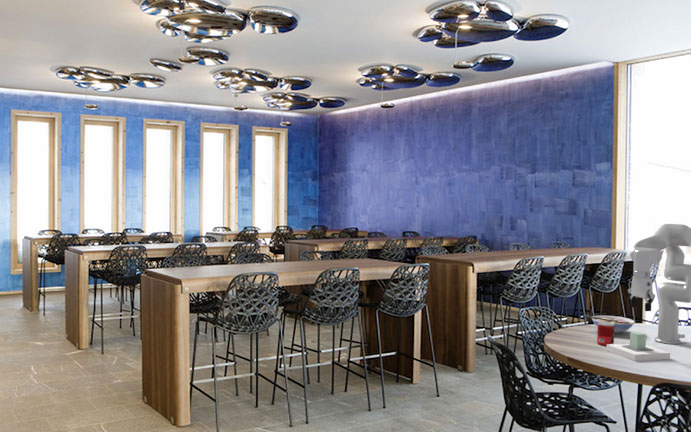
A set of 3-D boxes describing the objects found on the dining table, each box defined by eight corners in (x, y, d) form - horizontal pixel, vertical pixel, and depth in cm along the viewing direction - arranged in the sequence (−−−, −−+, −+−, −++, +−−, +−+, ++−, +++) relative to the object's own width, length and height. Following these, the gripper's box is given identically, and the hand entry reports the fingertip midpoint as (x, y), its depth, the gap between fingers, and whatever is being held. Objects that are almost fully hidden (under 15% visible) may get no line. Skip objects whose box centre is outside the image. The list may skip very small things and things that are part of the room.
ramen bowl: (642, 333, 356) (643, 319, 356) (625, 339, 341) (626, 324, 340) (599, 325, 374) (600, 312, 374) (581, 331, 359) (582, 316, 358)
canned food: (615, 346, 323) (615, 325, 322) (598, 345, 324) (599, 324, 324) (611, 343, 330) (612, 322, 330) (595, 342, 332) (596, 321, 331)
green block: (638, 346, 310) (638, 332, 310) (645, 348, 306) (646, 334, 305) (629, 346, 309) (630, 332, 309) (636, 349, 304) (637, 334, 304)
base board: (639, 348, 320) (640, 342, 320) (669, 359, 300) (670, 351, 300) (606, 350, 314) (606, 343, 314) (634, 361, 295) (634, 353, 295)
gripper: (661, 276, 303) (660, 312, 304) (635, 271, 320) (634, 305, 321) (648, 277, 301) (647, 313, 302) (623, 272, 318) (622, 306, 319)
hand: (640, 308), depth 311 cm, fingers open, 9 cm apart
